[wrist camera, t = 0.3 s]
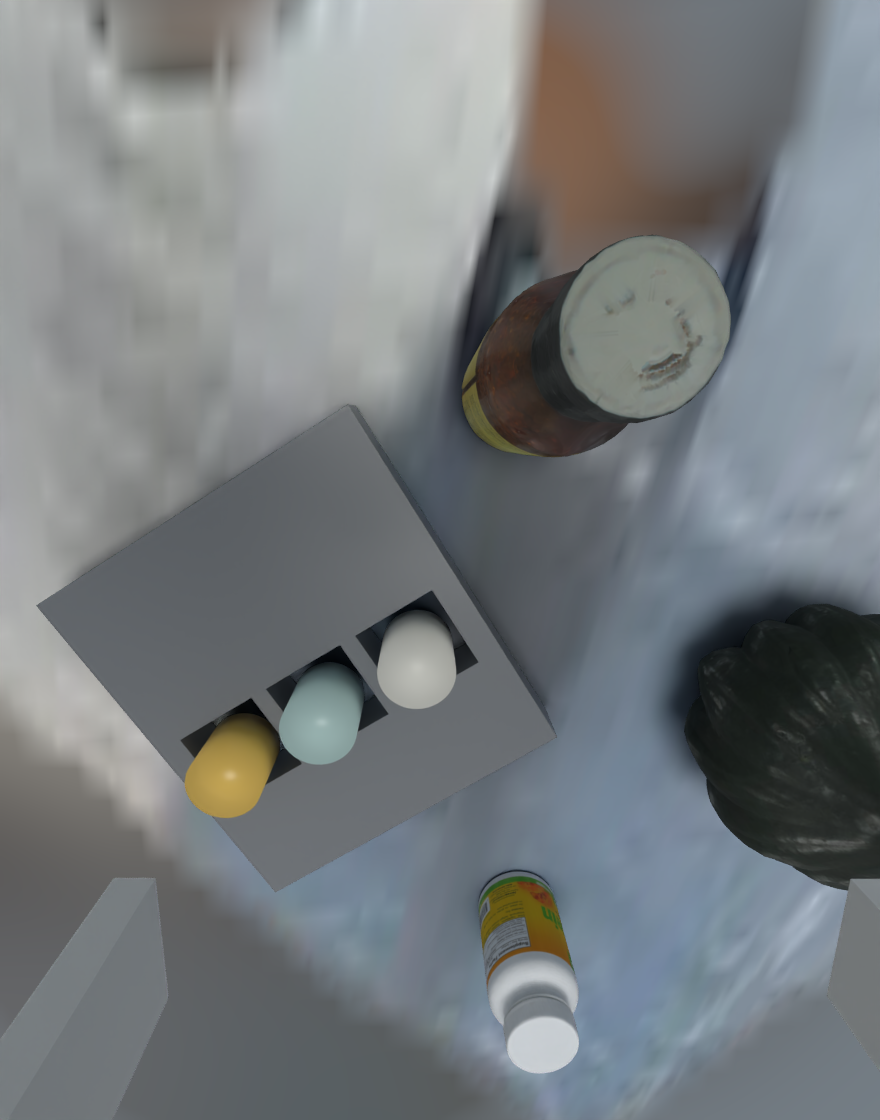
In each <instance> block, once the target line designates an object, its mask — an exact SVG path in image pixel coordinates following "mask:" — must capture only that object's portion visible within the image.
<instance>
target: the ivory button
mask: <svg viewBox="0 0 880 1120" xmlns="http://www.w3.org/2000/svg"><path fill="white" fill-rule="evenodd" d="M377 677H378V682H379V685H380V687H381V689H382V691H383V693H384V694H385V695H386V696H387V697H388V698H389V699H390V700H391V701H393V702H394V703H396V704H397V705H400V706H402V707H405V708H410V709H424V708H428V707H431V706H434V705H436V704H438V703H439V702H441V701H442V700H443V699H444V698H446V696H447V695H448V694H449V693H450V691H451V690H452V688H453V686H454V683H455V679H456V664H455V656H454V648H453V640H452V635H451V632H450V629H449V627H448V626H447V624H446V623H445V622H444V621H443V620H442V619H441V618H440V617H439V616H437V615H435V614H433V613H431V612H428V611H424V610H411V611H407V612H404V613H402V614H400V615H398V616H397V617H395V618H394V619H393V620H392V621H391V622H390V623H389V625H388V626H387V628H386V630H385V632H384V636H383V641H382V646H381V651H380V657H379V662H378V668H377Z"/></svg>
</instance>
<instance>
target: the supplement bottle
mask: <svg viewBox="0 0 880 1120" xmlns="http://www.w3.org/2000/svg"><path fill="white" fill-rule="evenodd" d="M479 921H480V930H481V939H482V948H483V956H484V965H485V974H486V984H487V993H488V998H489V1003H490V1007H491V1010H492V1012H493V1014H494V1015H495V1017H496V1018H497V1020H498V1021H499V1022H500V1023H501V1024H502V1025H503V1030H504V1036H505V1041H506V1048H507V1052H508V1055H509V1057H510V1059H511V1060H512V1062H513V1063H514V1064H515V1065H516V1066H518V1067H519V1068H521V1069H523V1070H525V1071H528V1072H532V1073H549V1072H553V1071H556V1070H558V1069H560V1068H562V1067H564V1066H565V1065H567V1064H568V1063H569V1062H570V1061H571V1060H572V1059H573V1058H574V1056H575V1055H576V1053H577V1050H578V1046H579V1038H578V1032H577V1028H576V1024H575V1020H574V1016H573V1013H574V1011H575V1009H576V1006H577V1002H578V984H577V980H576V976H575V972H574V969H573V965H572V961H571V958H570V954H569V950H568V947H567V943H566V939H565V935H564V932H563V928H562V924H561V920H560V917H559V913H558V909H557V905H556V902H555V898H554V895H553V893H552V890H551V889H550V887H549V886H548V884H547V883H546V882H545V881H544V880H542V879H541V878H540V877H538V876H536V875H534V874H531V873H527V872H519V871H516V872H509V873H505V874H502V875H500V876H498V877H496V878H495V879H493V880H492V881H491V882H490V883H488V885H487V886H486V887H485V888H484V890H483V892H482V893H481V896H480V899H479Z"/></svg>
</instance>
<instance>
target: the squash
mask: <svg viewBox="0 0 880 1120" xmlns="http://www.w3.org/2000/svg"><path fill="white" fill-rule="evenodd" d="M698 681H699V690H700V693H701V696H700V697H698V698H697V699H696V700H695V701H694V702H693V704H692V706H691V708H690V709H689V712H688V715H687V717H686V722H685V728H684V732H685V736H686V740H687V743H688V745H689V747H690V750H691V752H692V754H693V756H694V758H695V759H696V761H697V763H698V765H699V767H700V768H701V770H702V771H703V773H704V774H705V776H706V777H707V791H708V795H709V799H710V802H711V804H712V805H713V807H714V809H715V811H716V812H717V814H718V816H719V818H720V819H721V821H722V822H723V823H724V824H725V826H726V827H727V828H728V829H729V830H730V831H731V832H732V833H733V834H734V835H735V836H736V837H737V838H738V839H740V840H741V841H742V842H743V843H744V844H745V845H747V846H748V847H750V848H752V849H753V850H755V851H757V852H758V853H760V854H762V855H763V856H765V857H768V858H772V859H775V860H777V861H780V862H783V863H785V864H788V865H791V866H793V867H794V868H795V869H796V870H798V871H800V872H802V873H803V874H805V875H807V876H808V877H810V878H812V879H813V880H815V881H817V882H819V883H821V884H823V885H827V886H830V887H833V888H837V889H842V890H848V889H849V884H850V879H880V614H870V615H863V616H860V615H857V614H855V613H853V612H850V611H848V610H845V609H842V608H839V607H836V606H832V605H828V604H812V605H807V606H805V607H802V608H800V609H798V610H797V611H795V612H794V613H793V614H792V615H791V616H790V617H789V618H788V619H787V620H786V622H785V623H782V622H778V621H774V620H767V621H762V622H760V623H757V624H755V625H753V626H752V627H751V628H750V630H749V631H748V633H747V634H746V636H745V638H744V641H743V644H742V647H741V648H737V647H729V648H725V649H721V650H716V651H712V652H711V653H710V654H708V655H707V656H705V657H704V658H703V659H702V660H701V661H700V663H699V666H698Z"/></svg>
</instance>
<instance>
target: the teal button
mask: <svg viewBox="0 0 880 1120" xmlns="http://www.w3.org/2000/svg"><path fill="white" fill-rule="evenodd" d="M364 698H365V692H364V687H363V684H362V682H361V680H360V678H359V677H358V675H357V674H356V673H355V672H354V671H352V670H351V669H350V668H348V667H346V666H344V665H341V664H338V663H329V662H328V663H321V664H317V665H315V666H313V667H311V668H309V669H308V670H306V671H305V672H304V673H303V675H302V676H301V677H300V679H299V681H298V683H297V685H296V687H295V689H294V691H293V693H292V695H291V697H290V700H289V702H288V704H287V706H286V708H285V710H284V712H283V714H282V716H281V719H280V723H279V734H280V738H281V741H282V743H283V745H284V747H285V748H286V749H287V750H288V752H289V753H290V754H292V755H293V756H294V757H295V758H297V759H299V760H301V761H303V762H306V763H309V764H315V765H323V764H329V763H333V762H335V761H338V760H340V759H341V758H343V757H344V756H345V755H346V754H347V753H348V752H349V751H350V750H351V749H352V747H353V745H354V743H355V740H356V737H357V732H358V727H359V722H360V718H361V713H362V708H363V704H364Z"/></svg>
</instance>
